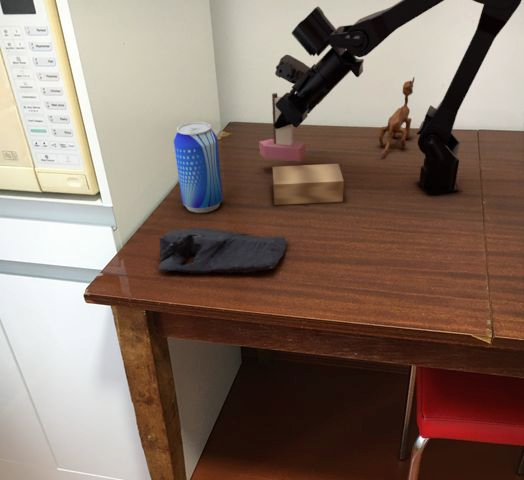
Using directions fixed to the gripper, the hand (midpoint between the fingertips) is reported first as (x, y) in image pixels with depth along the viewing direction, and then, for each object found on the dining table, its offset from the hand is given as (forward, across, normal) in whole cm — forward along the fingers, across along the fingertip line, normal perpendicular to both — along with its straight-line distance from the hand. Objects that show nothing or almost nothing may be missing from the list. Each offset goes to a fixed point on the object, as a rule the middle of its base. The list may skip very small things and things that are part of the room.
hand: (276, 125), depth 129 cm
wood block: (0, +10, +14) cm, 17 cm away
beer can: (+14, +21, +1) cm, 25 cm away
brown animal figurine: (-8, -21, +23) cm, 33 cm away
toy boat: (+4, 0, +6) cm, 7 cm away
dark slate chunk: (+5, +39, +10) cm, 40 cm away
